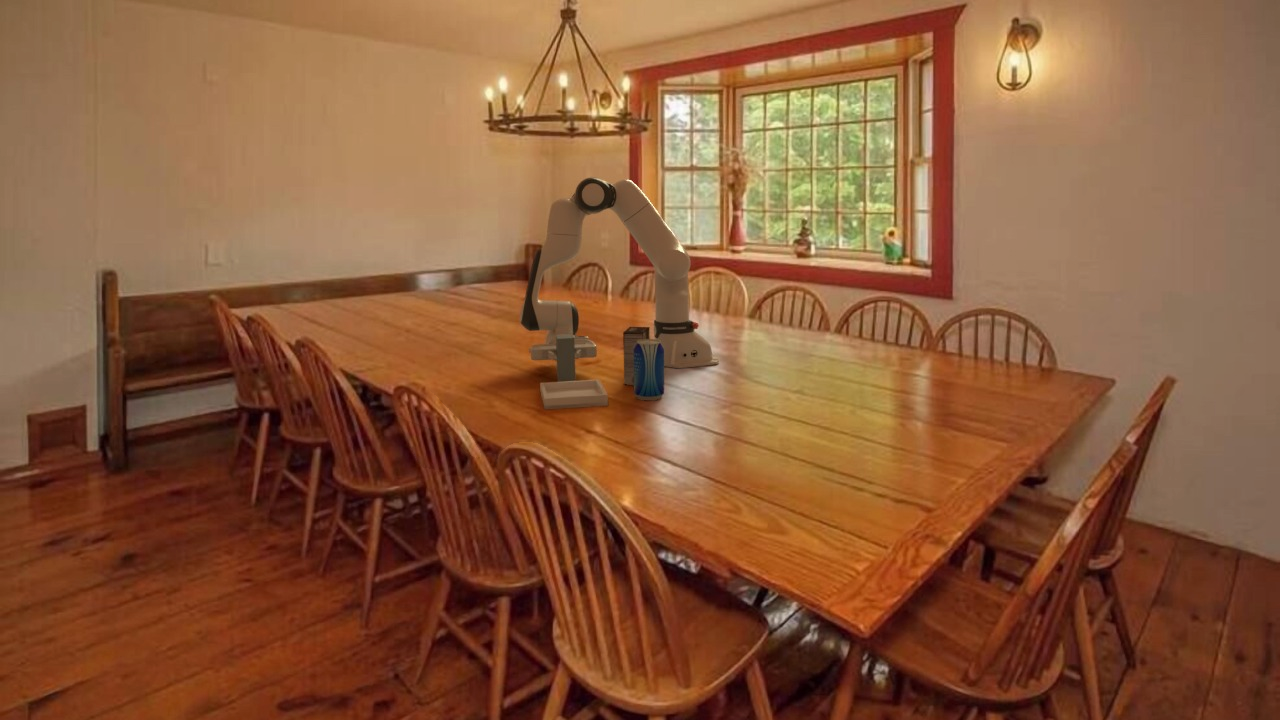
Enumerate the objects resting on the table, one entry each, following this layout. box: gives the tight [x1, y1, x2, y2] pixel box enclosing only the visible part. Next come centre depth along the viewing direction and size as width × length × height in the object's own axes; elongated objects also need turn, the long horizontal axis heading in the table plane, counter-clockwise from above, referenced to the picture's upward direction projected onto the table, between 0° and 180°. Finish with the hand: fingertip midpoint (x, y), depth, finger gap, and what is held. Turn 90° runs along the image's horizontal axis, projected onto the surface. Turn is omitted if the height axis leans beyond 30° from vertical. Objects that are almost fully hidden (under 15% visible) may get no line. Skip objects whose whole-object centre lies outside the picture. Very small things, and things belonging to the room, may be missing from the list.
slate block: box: [556, 335, 576, 382], centre depth 236 cm, size 5×5×14 cm
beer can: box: [633, 338, 665, 401], centre depth 218 cm, size 8×8×16 cm
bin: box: [539, 378, 609, 411], centre depth 219 cm, size 17×17×3 cm
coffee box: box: [622, 326, 651, 386], centre depth 235 cm, size 9×6×16 cm
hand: (565, 356), depth 234 cm, fingers closed on slate block, 5 cm apart
